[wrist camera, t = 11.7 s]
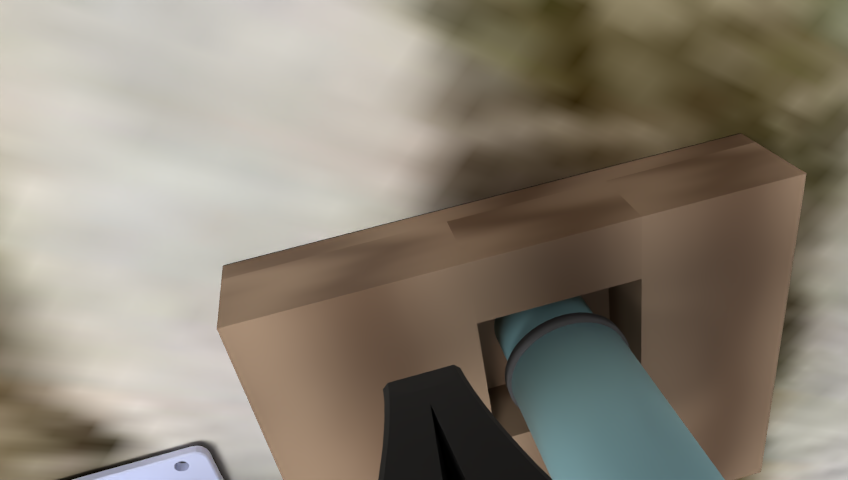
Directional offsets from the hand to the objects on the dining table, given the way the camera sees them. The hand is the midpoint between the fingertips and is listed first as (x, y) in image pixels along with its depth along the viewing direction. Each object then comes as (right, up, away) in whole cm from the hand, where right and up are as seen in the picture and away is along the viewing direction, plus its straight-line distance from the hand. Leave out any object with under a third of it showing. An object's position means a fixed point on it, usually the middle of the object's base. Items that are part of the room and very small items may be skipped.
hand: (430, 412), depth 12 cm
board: (+3, -1, +14) cm, 14 cm away
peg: (+4, 0, +12) cm, 13 cm away
